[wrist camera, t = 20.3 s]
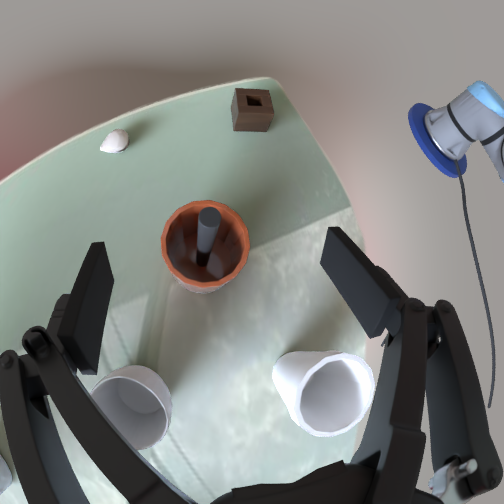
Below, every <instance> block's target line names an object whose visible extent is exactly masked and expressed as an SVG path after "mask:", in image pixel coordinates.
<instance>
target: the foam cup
mask: <svg viewBox="0 0 504 504" xmlns="http://www.w3.org/2000/svg"><path fill="white" fill-rule="evenodd" d="M272 378H273V380H274V383H275V385H276V388H277V389H278V391H279V393H280V395H281V396H282V398H283V400H284V402H285V404H286V405H287V407H288V410H289V412H290V415H291V418H292V419H293V420H294V421H295V422H296V423H297V424H298V425H299V426H300V427H302V428H303V429H304V430H306V431H307V432H308V433H310V434H311V435H313V436H320V437H332V436H335V435H338V434H341V433H344V432H347V431H348V430H349V429H351V428H352V427H353V426H354V425H355V424H357V423H358V422H359V421H360V420H361V419H362V418H363V416H364V415H365V413H366V411H367V410H368V408H369V406H370V405H371V403H372V399H373V393H374V387H375V383H374V378H373V374H372V370H371V368H370V367H369V366H368V365H367V363H366V362H365V361H364V360H363V359H362V358H361V357H359V356H355V355H351V354H347V353H343V352H339V351H335V350H331V351H326V352H307V351H295V352H290V353H286V354H285V355H283V356H282V357H280V358H279V359H278V361H277V362H276V364H275V365H274V367H273V374H272Z"/></svg>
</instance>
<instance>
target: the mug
mask: <svg viewBox="0 0 504 504" xmlns="http://www.w3.org/2000/svg"><path fill="white" fill-rule="evenodd" d="M90 395H91V397H92V398H93V399H94V401H95V402H96V403H97V405H98V406H99V407H100V409H101V410H102V411H103V412H104V414H105V415H106V416H107V417H108V419H109V420H110V421H111V422H112V423H113V425H114V426H115V427H116V428H117V429H118V430H119V432H120V433H121V434H122V435H123V436H124V437H125V438H126V439H127V441H128V442H129V443H130V444H131V445H132V446H133V447H134V448H135V449H136V450H143V449H147V448H150V447H152V446H154V445H155V444H157V443H158V442H160V441H161V440H162V438H163V437H164V436H165V434H166V432H167V430H168V428H169V425H170V421H171V414H172V401H171V396H170V392H169V390H168V387H167V385H166V384H165V382H164V381H163V379H162V378H161V377H160V376H159V375H158V374H157V373H156V372H154V371H153V370H151V369H149V368H147V367H144V366H139V365H130V366H125V367H122V368H119V369H117V370H114V371H113V372H111V373H110V374H108V375H107V376H105V377H104V378H102V379H101V380H100V381H99V382H98V383H97V384H96V385H95V386H94V388H93V389H92V391H91V393H90Z"/></svg>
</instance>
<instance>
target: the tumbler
mask: <svg viewBox="0 0 504 504" xmlns="http://www.w3.org/2000/svg"><path fill="white" fill-rule="evenodd" d="M205 207H214V208H216V209H217V210H218V211H219V212H220V214H221V222H220V225H219V228H218V231H217V234H216V238H215V241H214V244H213V247H212V251H211V254H210V257H209V261H208V264H207V265H206V266H204V267H200V266H199V265H198V264H197V263H196V254H197V234H198V217H199V213H200V211H201V210H202V209H203V208H205ZM161 249H162V256H163V258H164V260H165V262H166V264H167V266H168V268H169V270H170V272H171V273H172V275H173V276H174V278H175V279H176V281H177V282H178V283H179V284H180V285H182V286H183V287H184V288H185V289H187V290H189V291H192V292H195V293H199V294H201V293H210V292H214V291H216V290H218V289H219V288H221V287H223V286H224V285H226V284H227V283H228V282H229V281H231V280H232V279H233V278H235V277H236V276H237V274H238V273H239V272H240V270H241V269H242V268H243V266H244V265H245V264H246V261H247V257H248V253H249V249H250V241H249V234H248V229H247V227H246V226H245V224H244V222H243V221H242V219H241V217H240V216H239V215H238V214H237V213H236V212H235V211H233V210H232V209H231V208H229V207H228V206H227V205H225V204H222V203H218V202H215V201H211V200H204V201H193V202H191V203H188V204H186V205H184V206H182V207H180V208H178V209H177V210H176V211H175V212H174V214H173V215H172V216H171V217H170V218H169V219H168V220H167V222H166V224H165V227H164V230H163V233H162V236H161Z"/></svg>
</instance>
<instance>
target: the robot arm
mask: <svg viewBox="0 0 504 504" xmlns="http://www.w3.org/2000/svg"><path fill="white" fill-rule="evenodd" d="M423 125H424V128H425V131H426V133H427V135H428V137H429V139H430V141H431V142H432V144H433V145H434V146H435V148H436V149H437V150H438V151H439V152H440V154H441V155H443V156H444V157H445V158H446V159H448V160H449V161H451V162H455V165H456V169H457V172H458V176H459V180H460V184H461V189H462V199H463V209H464V216H465V221H466V226H467V230H468V234H469V239H470V243H471V247H472V251H473V256H474V260H475V265H476V269H477V273H478V278H479V281H480V286H481V290H482V295H483V299H484V304H485V308H486V313H487V318H488V324H489V330H490V337H491V345H492V358H493V359H492V360H493V361H492V362H493V363H492V364H493V366H492V369H493V371H492V384H491V392H490V398H489V403H488V408H490V406H491V401H492V396H493V390H494V381H495V345H494V336H493V329H492V323H491V317H490V312H489V307H488V303H487V298H486V294H485V289H484V285H483V281H482V276H481V272H480V268H479V263H478V259H477V255H476V250H475V246H474V241H473V237H472V233H471V229H470V224H469V220H468V214H467V207H466V197H465V188H464V183H463V179H462V175H461V172H460V168H459V165H458V160H460V159H461V158H462V157H463V156H464V154H465V153H466V151H467V150H468V148H469V147H470V145H471V144H472V143H473V142H475V141H476V140H479V141H480V142H481V144H482V145H483V147H484V149H485V150H486V152H487V154H488V155H489V157H490V159H491V160H492V162H493V164H494V166H495V168H496V169H497V171H498V173H499V176H500V178H501V180H502V181H503V183H504V101H503V100H502V98H501V97H500V96H499V95H498V94H497V93H496V92H495V91H494V90H493V89H492V88H491V87H490V86H489V85H488V84H486V83H485V82H483V81H476V82H475V83H473V84H472V85H471V86H468V87H467V89H466V90H465V91H464V92H463V93H461V94H460V95H459V96H458V97H456V98H455V99H454V100H453V101H452V102H451V103H449V104H448V105H447V106H445V107H442V108H438V109H435V110H430V111H429V112H428V113H426V114H425V115H424V117H423ZM320 264H321V266H322V267H323V269H324V270H325V272H326V273H327V275H328V276H329V277H330V279H331V280H332V282H333V283H334V285H335V286H336V288H337V289H338V291H339V292H340V294H341V295H342V297H343V298H344V300H345V301H346V303H347V304H348V306H349V307H350V309H351V310H352V312H353V313H354V315H355V316H356V318H357V320H358V321H359V323H360V324H361V326H362V327H363V329H364V330H365V332H366V334H367V335H368V337H369V338H370V339H371V338H374V337H377V336H380V335H381V334H382V333H383V331H384V329H385V327H386V329H387V330H388V334H387V336H386V338H385V339H384V341H383V343H382V344H381V346H383V345H384V344H385V347H384V353H383V359H382V364H381V369H380V374H379V378H378V383H377V387H376V391H375V396H374V400H373V404H372V408H371V411H370V415H369V419H368V422H367V425H366V429H365V432H364V435H363V439H362V441H361V444H360V447H359V448H358V450H357V451H356V453H355V454H354V456H353V458H352V460H351V462H350V463H344V462H343V460H341V461H338V462H336V463H333V464H330V465H327V466H324V467H321V468H318V469H317V470H315V471H313V472H312V473H310V474H308V475H306V476H305V477H303V478H301V479H299V480H297V481H296V482H294V483H287V484H257V485H252V486H246V487H240V488H233V489H232V491H231V492H229V493H226V494H224V495H222V496H220V497H218V498H217V499H215V500H214V501H213V502H211V503H210V504H466V503H467V502H468V501H469V500H471V499H472V498H473V497H476V496H478V495H481V494H483V493H486V492H488V491H490V490H492V489H494V488H496V487H497V486H498V485H499V484H500V482H501V480H502V477H503V469H502V465H501V462H500V459H499V457H498V454H497V451H496V449H495V446H494V443H493V441H492V439H491V436H490V434H489V427H488V421H487V415H486V410H485V405H484V401H483V396H482V391H481V387H480V383H479V379H478V376H477V372H476V369H475V365H474V362H473V359H472V355H471V352H470V349H469V346H468V343H467V340H466V337H465V334H464V332H463V329H462V326H461V324H460V321H459V319H458V316H457V313H456V311H455V309H454V307H453V305H451V303H449V302H448V301H446V300H438V301H437V302H436V304H435V306H434V307H431V306H425V305H424V303H423V302H421V301H420V300H418V299H416V298H409V297H408V296H407V295H406V294H405V293H404V292H403V290H402V289H401V288H400V287H399V286H398V284H397V283H395V281H394V280H393V279H392V278H391V277H390V275H389V274H388V273H387V272H386V271H385V270H384V269H382V268H381V267H379V266H375V265H374V264H373V263H372V262H371V261H370V259H369V258H368V257H367V256H366V255H365V254H364V253H363V252H362V251H361V250H360V248H359V247H358V246H357V245H356V244H355V243H354V242H353V241H352V240H351V239H350V238H349V237H348V236H347V235H346V233H345V232H344V231H343V230H342V229H341V228H340V227H328V231H327V235H326V240H325V244H324V248H323V253H322V257H321V261H320ZM113 284H114V278H113V274H112V271H111V267H110V263H109V260H108V256H107V252H106V248H105V244H104V242H94V243H92V244H91V246H90V248H89V250H88V252H87V255H86V257H85V259H84V261H83V264H82V266H81V269H80V271H79V273H78V276H77V278H76V281H75V283H74V286H73V289H72V291H71V294H63V295H62V296H61V297H60V298H59V299H58V300H57V302H56V304H55V307H54V311H53V312H52V315H51V318H50V321H49V324H48V327H47V329H45V328H44V327H42V326H34V327H32V328H30V329H29V330H27V331H26V333H25V334H24V336H23V338H22V346H23V347H24V349H25V350H26V351H27V353H28V354H25V355H22V356H18V355H17V353H16V352H15V351H13V350H6V351H5V352H3V353H2V354H1V355H0V402H1V409H2V415H3V421H4V426H5V431H6V435H7V440H8V444H9V448H10V452H11V455H12V459H13V462H14V465H15V469H16V472H17V475H18V478H19V480H20V483H21V486H22V489H23V491H24V494H25V496H26V499H27V501H28V503H29V504H90V503H89V501H88V499H87V497H86V496H85V494H84V492H83V490H82V488H81V486H80V484H79V482H78V480H77V478H76V476H75V474H74V471H73V469H72V467H71V465H70V462H69V460H68V458H67V455H66V453H65V450H64V448H63V445H62V442H61V440H60V437H59V434H58V431H57V428H56V425H55V422H54V419H53V416H52V413H51V409H50V406H49V402H48V398H47V395H50V397H51V398H52V400H53V402H54V404H55V405H56V407H57V409H58V411H59V412H60V414H61V416H62V417H63V419H64V420H65V422H66V424H67V425H68V427H69V428H70V430H71V431H72V433H73V434H74V436H75V437H76V439H77V440H78V441H79V443H80V444H81V446H82V447H83V448H84V450H85V451H86V452H87V454H88V455H89V456H90V458H91V459H92V460H93V462H94V463H95V464H96V465H97V467H98V468H99V469H100V470H101V471H102V473H103V474H104V475H105V476H106V477H107V478H108V480H109V481H110V482H111V483H112V484H113V485H114V486H115V487H116V488H117V490H118V491H119V492H120V493H121V494H122V495H123V496H124V497H125V498H126V499H127V500H128V502H129V503H130V504H198V503H196V502H195V501H194V500H193V499H191V498H190V497H189V496H187V495H186V494H185V493H183V492H182V491H181V490H179V489H178V488H177V487H175V486H174V485H173V484H172V483H171V482H170V481H168V480H167V479H166V478H165V477H164V476H163V475H162V474H161V473H159V472H158V471H157V470H156V469H155V468H154V467H153V466H152V465H151V464H150V463H149V462H148V461H147V460H146V459H145V458H144V457H143V456H142V455H141V454H140V453H139V452H138V451H137V450H136V449H135V448H134V447H133V446H132V445H131V444H130V443H129V442H128V441H127V439H126V438H125V437H124V436H123V435H122V434H121V433H120V432H119V430H118V429H117V428H116V427H115V426H114V425H113V423H112V422H111V421H110V420H109V419H108V417H107V416H106V415H105V414H104V412H103V411H102V410H101V409H100V407H99V406H98V405H97V403H96V402H95V401H94V399H93V398H92V397H91V395H90V394H89V393H88V391H87V390H86V388H85V387H84V385H83V384H82V383H81V381H80V380H79V378H78V377H77V375H76V373H77V368H78V369H79V370H80V372H81V373H82V374H84V375H97V370H98V363H99V356H100V349H101V343H102V337H103V331H104V326H105V321H106V316H107V311H108V306H109V302H110V297H111V293H112V288H113ZM439 337H441V341H440V342H439V339H438V338H439ZM425 390H426V397H427V405H428V414H429V425H430V439H431V454H432V455H431V456H432V464H433V470H434V473H435V474H434V477H433V478H432V479H430V481H429V485H428V486H429V488H430V489H431V490H433V491H432V494H429V493H427V492H424V491H421V490H419V489H416V484H417V480H418V476H419V472H420V468H421V463H422V459H423V454H424V449H425V443H426V435H425V433H424V432H421V429H420V428H421V421H422V414H423V406H424V397H425Z"/></svg>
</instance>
